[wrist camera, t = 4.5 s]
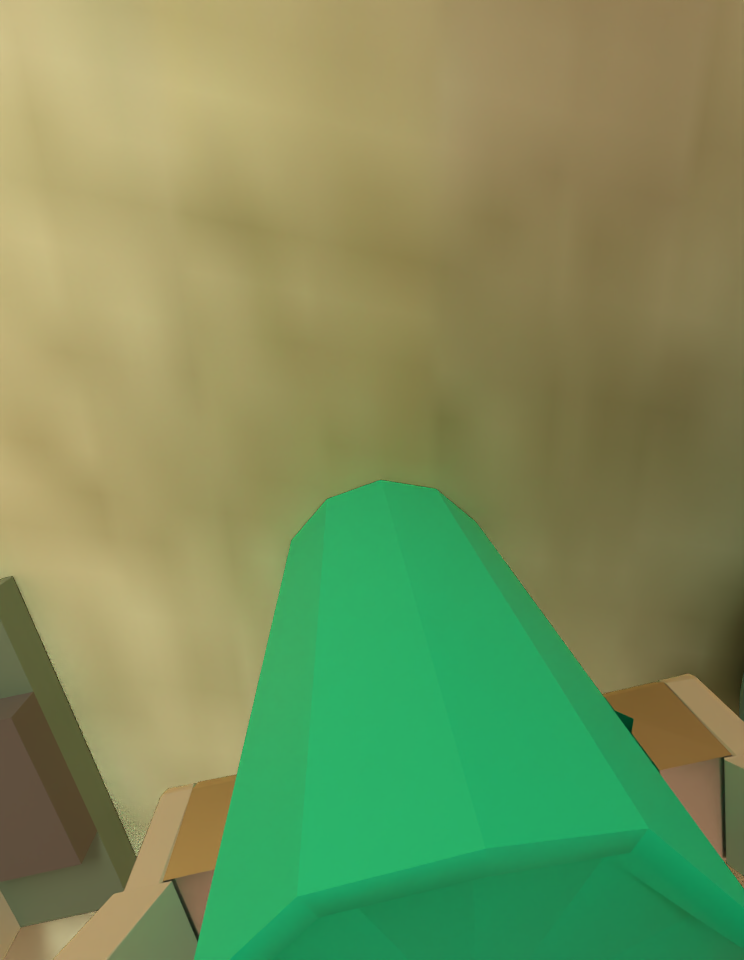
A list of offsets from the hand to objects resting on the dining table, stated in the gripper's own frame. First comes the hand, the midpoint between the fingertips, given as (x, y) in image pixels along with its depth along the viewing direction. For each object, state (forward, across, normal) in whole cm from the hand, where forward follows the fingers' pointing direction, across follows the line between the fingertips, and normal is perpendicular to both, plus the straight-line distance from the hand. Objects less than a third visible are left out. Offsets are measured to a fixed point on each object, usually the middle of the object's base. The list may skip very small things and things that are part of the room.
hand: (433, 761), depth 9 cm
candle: (+7, 0, 0) cm, 7 cm away
